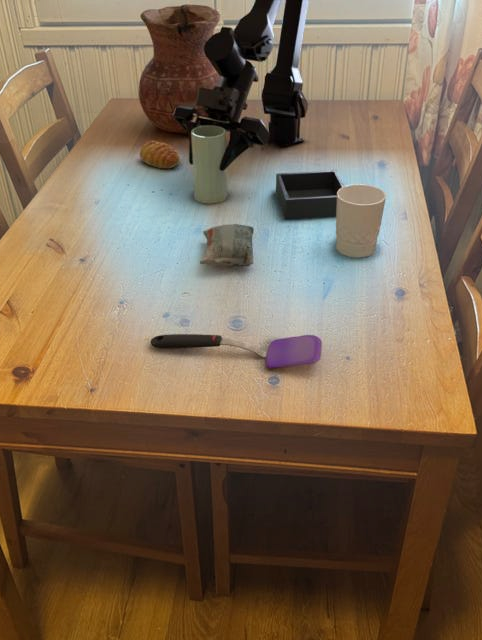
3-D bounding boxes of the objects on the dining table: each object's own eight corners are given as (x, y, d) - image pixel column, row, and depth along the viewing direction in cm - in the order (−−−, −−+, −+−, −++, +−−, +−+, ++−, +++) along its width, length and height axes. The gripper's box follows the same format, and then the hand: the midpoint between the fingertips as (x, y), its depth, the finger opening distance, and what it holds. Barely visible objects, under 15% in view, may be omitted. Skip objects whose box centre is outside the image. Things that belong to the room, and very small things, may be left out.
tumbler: (215, 186, 139) (213, 122, 131) (233, 198, 135) (232, 132, 127) (188, 194, 136) (184, 129, 128) (205, 206, 132) (202, 140, 124)
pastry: (188, 164, 148) (187, 146, 146) (164, 173, 145) (163, 156, 142) (160, 152, 154) (158, 136, 151) (136, 161, 150) (134, 144, 148)
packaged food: (200, 275, 112) (199, 249, 109) (203, 240, 121) (203, 215, 118) (253, 276, 112) (254, 249, 109) (253, 241, 121) (253, 215, 118)
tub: (275, 192, 136) (276, 173, 134) (334, 189, 137) (336, 170, 134) (284, 220, 127) (285, 200, 125) (348, 216, 128) (350, 196, 125)
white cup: (382, 241, 120) (389, 187, 114) (374, 263, 114) (381, 207, 108) (337, 234, 122) (342, 181, 116) (327, 256, 116) (332, 201, 110)
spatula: (145, 359, 95) (143, 345, 94) (157, 330, 100) (156, 316, 99) (318, 376, 92) (320, 362, 90) (322, 346, 97) (323, 331, 95)
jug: (227, 140, 159) (225, 22, 143) (137, 141, 159) (125, 24, 144) (228, 108, 176) (226, 0, 161) (146, 109, 177) (137, 1, 161)
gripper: (174, 61, 127) (145, 139, 127) (263, 74, 120) (233, 157, 119) (198, 92, 138) (171, 164, 137) (282, 106, 130) (254, 183, 130)
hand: (205, 166), depth 131 cm, fingers closed on tumbler, 6 cm apart
